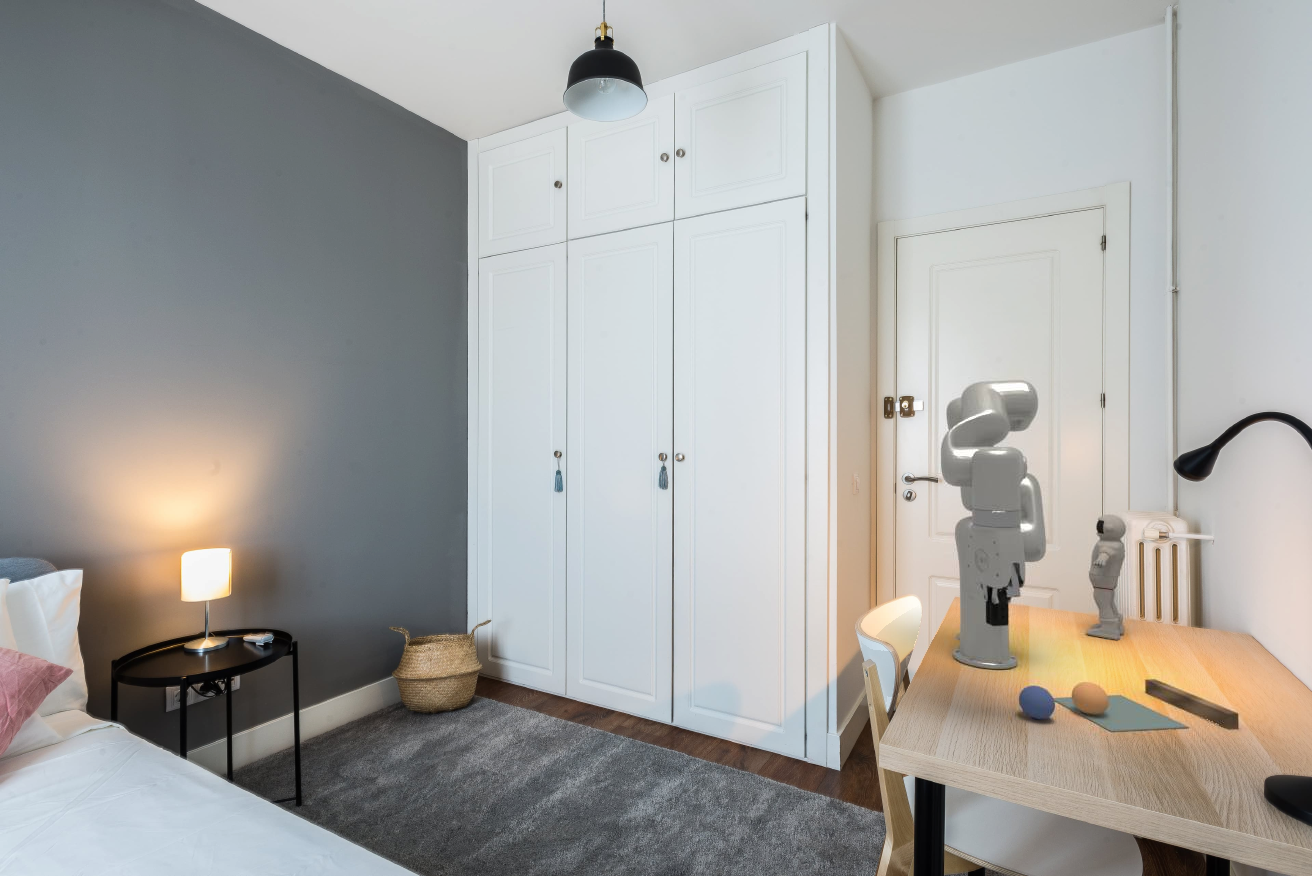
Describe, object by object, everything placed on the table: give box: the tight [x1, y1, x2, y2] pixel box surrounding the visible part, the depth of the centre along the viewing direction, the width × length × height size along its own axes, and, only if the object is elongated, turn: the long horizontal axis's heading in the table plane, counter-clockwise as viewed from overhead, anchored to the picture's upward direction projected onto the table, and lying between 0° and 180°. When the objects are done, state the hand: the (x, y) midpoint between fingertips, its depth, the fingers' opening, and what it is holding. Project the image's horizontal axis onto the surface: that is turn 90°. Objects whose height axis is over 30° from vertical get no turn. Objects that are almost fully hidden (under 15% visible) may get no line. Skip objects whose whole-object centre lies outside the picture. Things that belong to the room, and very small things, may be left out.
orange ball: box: [1071, 681, 1109, 715], centre depth 113 cm, size 5×5×5 cm
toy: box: [1085, 514, 1127, 641], centre depth 161 cm, size 29×8×30 cm, turn 136°
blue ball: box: [1018, 685, 1056, 720], centre depth 112 cm, size 5×5×5 cm
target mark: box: [1053, 694, 1190, 733], centre depth 114 cm, size 14×14×1 cm
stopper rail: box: [1144, 678, 1240, 730], centre depth 115 cm, size 16×2×2 cm, turn 6°
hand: (997, 624), depth 113 cm, fingers closed
